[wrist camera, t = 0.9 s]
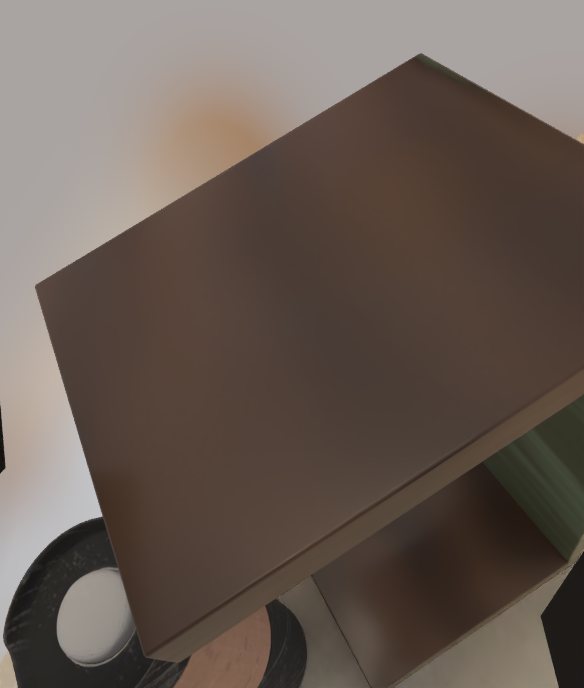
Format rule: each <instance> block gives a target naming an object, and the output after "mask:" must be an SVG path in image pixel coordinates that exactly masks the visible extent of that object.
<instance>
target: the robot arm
mask: <svg viewBox="0 0 584 688" xmlns="http://www.w3.org/2000/svg"><path fill="white" fill-rule="evenodd" d="M4 469H5V456H4V444H3V432H2V419H1V407H0V473H1V472H2V471H3V470H4ZM541 620H542V623H543V627H544V631H545V635H546V639H547V643H548V647H549V650H550V654H551V658H552V662H553V666H554V670H555V674H556V678H557V681H558V685H559V688H584V552H583V553H582V555H581V556H580V558H579V559H578V561H577V562H576V564H575V565H574V567H573V568H572V570H571V571H570V573H569V574H568V576H567V577H566V579H565V580H564V582H563V583H562V585H561V586H560V588H559V589H558V591H557V592H556V594H555V595H554V597H553V598H552V600H551V601H550V603H549V604H548V606H547V607H546V609H545V610H544V612H543V613H542V615H541Z"/></svg>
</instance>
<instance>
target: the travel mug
mask: <svg viewBox="0 0 584 688" xmlns="http://www.w3.org/2000/svg"><path fill="white" fill-rule="evenodd" d="M3 639H4V643H5V646H6V647H7V649H8V651H9V653H10V656H11V659H12V663H13V667H14V671H15V676H16V680H17V685H18V688H299V686H300V684H301V681H302V678H303V675H304V672H305V667H306V659H307V650H306V641H305V637H304V633H303V631H302V628H301V626H300V624H299V622H298V620H297V619H296V617H295V616H294V614H293V613H292V612H291V611H290V610H289V609H288V608H287V607H286V606H284V605H283V604H282V603H281V602H279V601H278V600H276V599H275V600H273V601H272V602H270V603H268V604H267V605H265V606H264V607H262V608H261V609H259V610H258V611H256V612H255V613H253V614H252V615H250V616H249V617H247V618H246V619H244V620H243V621H241V622H240V623H238V624H237V625H235V626H234V627H232V628H231V629H229V630H228V631H226V632H225V633H223V634H222V635H220V636H219V637H217V638H216V639H214V640H213V641H211V642H210V643H208V644H207V645H205V646H204V647H202V648H201V649H199V650H198V651H196V652H195V653H193V654H192V655H190V656H189V657H187V658H186V659H184V660H183V661H181V662H178V663H176V662H170V661H164V660H158V659H151V658H146V657H145V656H144V654H143V651H142V647H141V644H140V641H139V637H138V634H137V630H136V627H135V624H134V620H133V617H132V614H131V610H130V607H129V603H128V600H127V597H126V593H125V590H124V587H123V583H122V580H121V576H120V573H119V570H118V566H117V563H116V559H115V556H114V553H113V549H112V546H111V543H110V539H109V536H108V532H107V529H106V526H105V522H104V519H103V517H99V518H95V519H91V520H88V521H85V522H82V523H80V524H78V525H76V526H74V527H72V528H70V529H69V530H67V531H65V532H64V533H62V534H61V535H60V536H59V537H57V538H56V539H55V540H53V541H52V542H51V543H50V544H49V545H48V546H47V547H46V548H45V549H44V550H43V551H42V552H41V553H40V555H39V556H38V557H37V558H36V559H35V560H34V562H33V563H32V565H31V566H30V567H29V569H28V570H27V572H26V573H25V575H24V577H23V579H22V580H21V582H20V584H19V586H18V588H17V590H16V592H15V595H14V597H13V599H12V602H11V605H10V608H9V611H8V614H7V618H6V622H5V627H4V634H3Z"/></svg>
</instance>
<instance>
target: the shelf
mask: <svg viewBox="0 0 584 688" xmlns="http://www.w3.org/2000/svg"><path fill="white" fill-rule="evenodd" d="M35 289H36V292H37V296H38V299H39V302H40V306H41V309H42V312H43V316H44V319H45V322H46V326H47V329H48V332H49V336H50V339H51V343H52V346H53V350H54V353H55V356H56V360H57V363H58V367H59V370H60V373H61V376H62V380H63V383H64V387H65V390H66V393H67V397H68V400H69V404H70V407H71V410H72V414H73V417H74V421H75V424H76V427H77V431H78V434H79V437H80V441H81V444H82V448H83V451H84V454H85V458H86V461H87V465H88V468H89V471H90V475H91V478H92V482H93V485H94V488H95V492H96V495H97V499H98V502H99V505H100V508H101V512H102V515H103V519H104V522H105V526H106V529H107V532H108V536H109V539H110V543H111V546H112V549H113V553H114V556H115V559H116V563H117V566H118V570H119V573H120V576H121V580H122V583H123V587H124V590H125V593H126V597H127V600H128V603H129V607H130V610H131V614H132V617H133V620H134V624H135V627H136V630H137V634H138V637H139V641H140V644H141V647H142V651H143V654H144V656H145V657H146V658H151V659H158V660H164V661H170V662H176V663H178V662H181V661H183V660H184V659H186V658H187V657H189V656H190V655H192V654H193V653H195V652H196V651H198V650H199V649H201V648H202V647H204V646H205V645H207V644H208V643H210V642H211V641H213V640H214V639H216V638H217V637H219V636H220V635H222V634H223V633H225V632H226V631H228V630H229V629H231V628H232V627H234V626H235V625H237V624H238V623H240V622H241V621H243V620H244V619H246V618H247V617H249V616H250V615H252V614H253V613H255V612H256V611H258V610H259V609H261V608H262V607H264V606H265V605H267V604H268V603H270V602H272V601H273V600H275V599H276V598H278V597H279V596H281V595H282V594H284V593H285V592H287V591H288V590H290V589H291V588H293V587H294V586H296V585H297V584H299V583H300V582H302V581H303V580H305V579H306V578H308V577H309V576H311V575H312V577H313V579H314V581H315V583H316V585H317V586H318V588H319V590H320V592H321V594H322V596H323V598H324V600H325V602H326V604H327V605H328V607H329V609H330V611H331V613H332V615H333V617H334V619H335V621H336V622H337V624H338V626H339V628H340V630H341V632H342V634H343V636H344V638H345V640H346V641H347V643H348V645H349V647H350V649H351V651H352V653H353V655H354V657H355V659H356V660H357V662H358V664H359V666H360V668H361V670H362V672H363V674H364V676H365V678H366V679H367V681H368V683H369V685H370V687H371V688H393V687H394V686H396V685H397V684H399V683H400V682H402V681H403V680H404V679H406V678H407V677H409V676H410V675H412V674H413V673H415V672H416V671H418V670H419V669H421V668H422V667H423V666H425V665H426V664H428V663H429V662H431V661H432V660H434V659H435V658H437V657H438V656H439V655H441V654H442V653H444V652H445V651H447V650H448V649H450V648H451V647H453V646H454V645H455V644H457V643H458V642H460V641H461V640H463V639H464V638H466V637H467V636H469V635H470V634H472V633H473V632H474V631H476V630H477V629H479V628H480V627H482V626H483V625H485V624H486V623H488V622H489V621H490V620H492V619H493V618H495V617H496V616H498V615H499V614H501V613H502V612H504V611H505V610H506V609H508V608H509V607H511V606H512V605H514V604H515V603H517V602H518V601H520V600H521V599H523V598H524V597H525V596H527V595H528V594H530V593H531V592H533V591H534V590H536V589H537V588H539V587H540V586H541V585H543V584H544V583H546V582H547V581H549V580H550V579H552V578H553V577H555V576H556V575H557V574H559V573H560V572H562V571H563V570H565V569H566V568H568V567H569V566H571V565H572V564H573V563H575V562H576V561H577V560H578V558H579V557H580V555H581V553H582V551H583V549H584V144H583V143H581V142H579V141H577V140H575V139H573V138H572V137H570V136H568V135H566V134H564V133H563V132H561V131H559V130H557V129H555V128H554V127H552V126H550V125H549V124H547V123H545V122H543V121H541V120H539V119H538V118H536V117H534V116H533V115H531V114H529V113H527V112H525V111H523V110H522V109H520V108H518V107H516V106H515V105H513V104H511V103H509V102H508V101H506V100H504V99H502V98H500V97H499V96H497V95H495V94H493V93H491V92H489V91H488V90H486V89H484V88H483V87H481V86H479V85H477V84H475V83H473V82H472V81H470V80H468V79H466V78H464V77H463V76H461V75H459V74H457V73H456V72H454V71H452V70H450V69H449V68H447V67H445V66H443V65H441V64H440V63H438V62H436V61H434V60H432V59H431V58H429V57H427V56H425V55H424V54H418V55H416V56H415V57H413V58H412V59H410V60H408V61H406V62H405V63H403V64H402V65H400V66H398V67H397V68H395V69H393V70H392V71H390V72H388V73H387V74H385V75H383V76H382V77H380V78H378V79H377V80H375V81H373V82H372V83H370V84H368V85H367V86H365V87H363V88H362V89H360V90H359V91H357V92H355V93H354V94H352V95H350V96H348V97H347V98H345V99H343V100H342V101H340V102H339V103H337V104H335V105H333V106H332V107H330V108H328V109H327V110H325V111H324V112H322V113H320V114H319V115H317V116H315V117H314V118H312V119H310V120H309V121H307V122H305V123H304V124H302V125H300V126H299V127H297V128H295V129H294V130H292V131H290V132H289V133H287V134H285V135H284V136H282V137H280V138H279V139H277V140H275V141H274V142H272V143H270V144H269V145H267V146H265V147H264V148H262V149H261V150H259V151H257V152H256V153H254V154H252V155H251V156H249V157H247V158H246V159H244V160H242V161H241V162H239V163H238V164H236V165H234V166H232V167H231V168H229V169H227V170H226V171H224V172H222V173H221V174H219V175H217V176H216V177H214V178H212V179H211V180H209V181H207V182H206V183H204V184H202V185H201V186H199V187H198V188H196V189H194V190H192V191H191V192H189V193H187V194H186V195H184V196H182V197H181V198H179V199H178V200H176V201H174V202H173V203H171V204H169V205H168V206H166V207H164V208H163V209H161V210H159V211H158V212H156V213H154V214H153V215H151V216H149V217H148V218H146V219H144V220H143V221H141V222H139V223H138V224H136V225H134V226H133V227H131V228H129V229H128V230H126V231H124V232H123V233H121V234H119V235H118V236H116V237H114V238H113V239H111V240H109V241H108V242H106V243H105V244H103V245H101V246H100V247H98V248H96V249H95V250H93V251H91V252H90V253H88V254H86V255H85V256H83V257H81V258H80V259H78V260H76V261H75V262H73V263H72V264H70V265H68V266H66V267H65V268H63V269H61V270H60V271H58V272H56V273H55V274H53V275H52V276H50V277H48V278H46V279H45V280H43V281H41V282H40V283H38V284H36V286H35Z"/></svg>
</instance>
